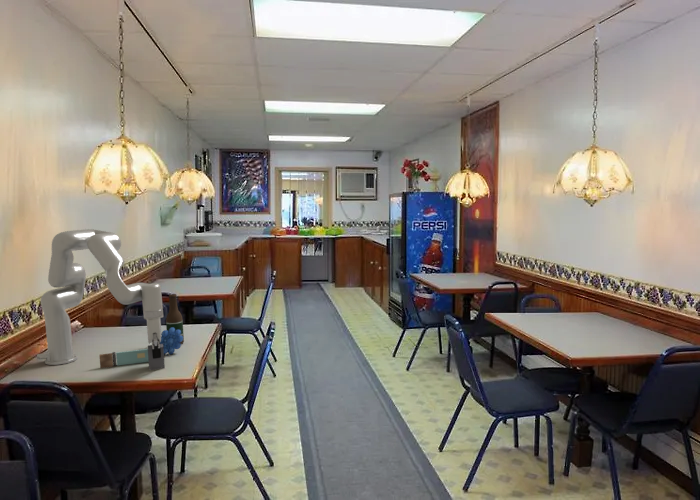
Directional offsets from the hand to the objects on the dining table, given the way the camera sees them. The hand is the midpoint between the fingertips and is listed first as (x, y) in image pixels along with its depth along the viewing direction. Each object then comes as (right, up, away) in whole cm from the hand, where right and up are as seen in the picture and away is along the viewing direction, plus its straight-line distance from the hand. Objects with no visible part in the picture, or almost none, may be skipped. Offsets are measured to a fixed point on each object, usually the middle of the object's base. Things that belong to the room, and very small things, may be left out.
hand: (156, 354), depth 223 cm
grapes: (-1, -4, +20) cm, 20 cm away
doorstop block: (0, -5, +1) cm, 5 cm away
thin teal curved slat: (-12, -5, +7) cm, 15 cm away
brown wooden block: (-12, -5, +7) cm, 15 cm away
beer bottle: (-4, -2, +36) cm, 36 cm away
